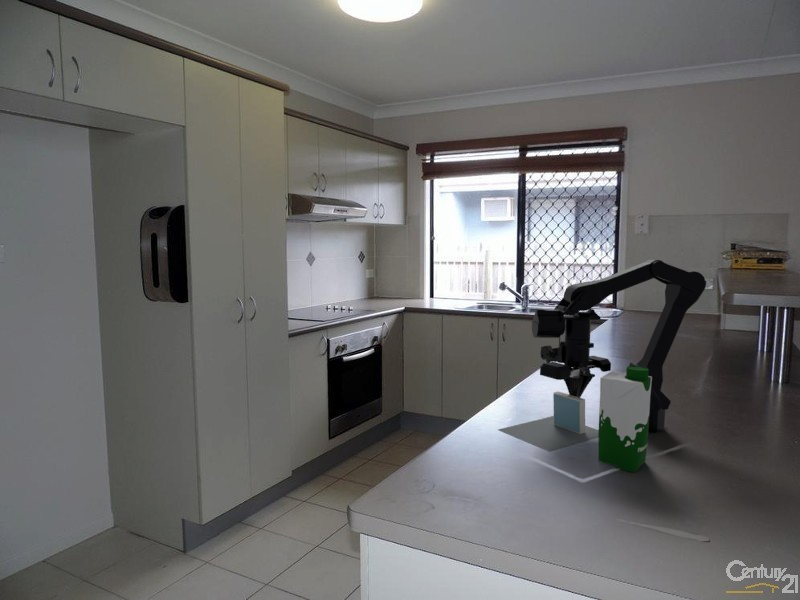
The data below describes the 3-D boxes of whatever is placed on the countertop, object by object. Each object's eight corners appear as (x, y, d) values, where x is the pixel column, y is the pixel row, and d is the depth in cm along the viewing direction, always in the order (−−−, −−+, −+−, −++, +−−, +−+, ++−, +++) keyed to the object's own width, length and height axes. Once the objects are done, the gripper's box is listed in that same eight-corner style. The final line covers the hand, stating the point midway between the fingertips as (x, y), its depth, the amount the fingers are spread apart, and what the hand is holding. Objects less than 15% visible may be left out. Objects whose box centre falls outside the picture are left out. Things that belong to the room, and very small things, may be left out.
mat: (609, 436, 127) (609, 433, 127) (549, 454, 116) (549, 451, 116) (555, 417, 141) (555, 415, 140) (497, 432, 130) (497, 429, 130)
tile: (585, 432, 128) (585, 399, 127) (579, 434, 127) (579, 400, 126) (558, 422, 134) (557, 391, 133) (553, 424, 133) (552, 392, 132)
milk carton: (638, 475, 106) (643, 374, 104) (591, 463, 112) (595, 367, 109) (651, 461, 113) (656, 366, 110) (606, 451, 118) (610, 359, 116)
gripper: (576, 330, 141) (573, 389, 143) (523, 336, 131) (521, 399, 133) (613, 336, 132) (610, 400, 133) (560, 343, 122) (557, 412, 123)
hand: (574, 402), depth 131 cm, fingers closed
